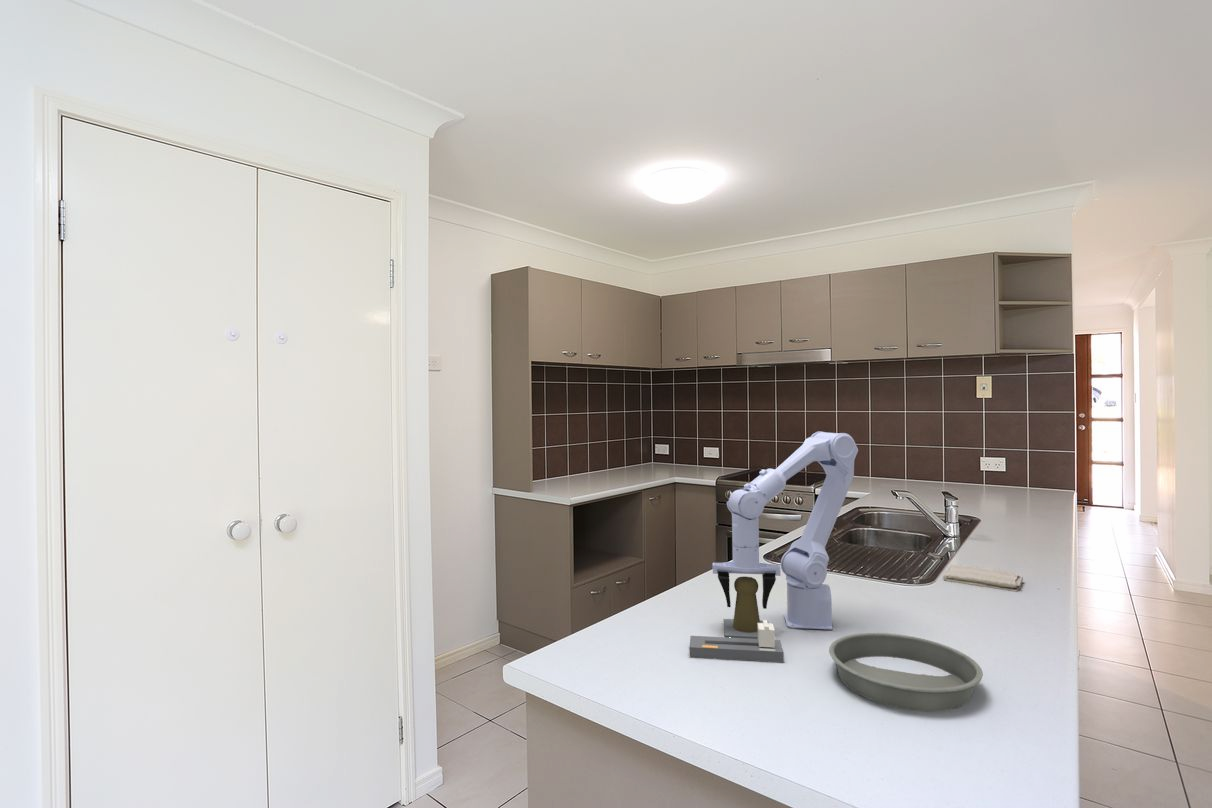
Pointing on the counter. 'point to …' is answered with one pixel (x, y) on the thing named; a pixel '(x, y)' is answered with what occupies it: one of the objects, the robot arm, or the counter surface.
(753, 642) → the switch bar
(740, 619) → the cork
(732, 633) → the slate mat
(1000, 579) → the washcloth
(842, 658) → the cake pan
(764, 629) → the switch tab
